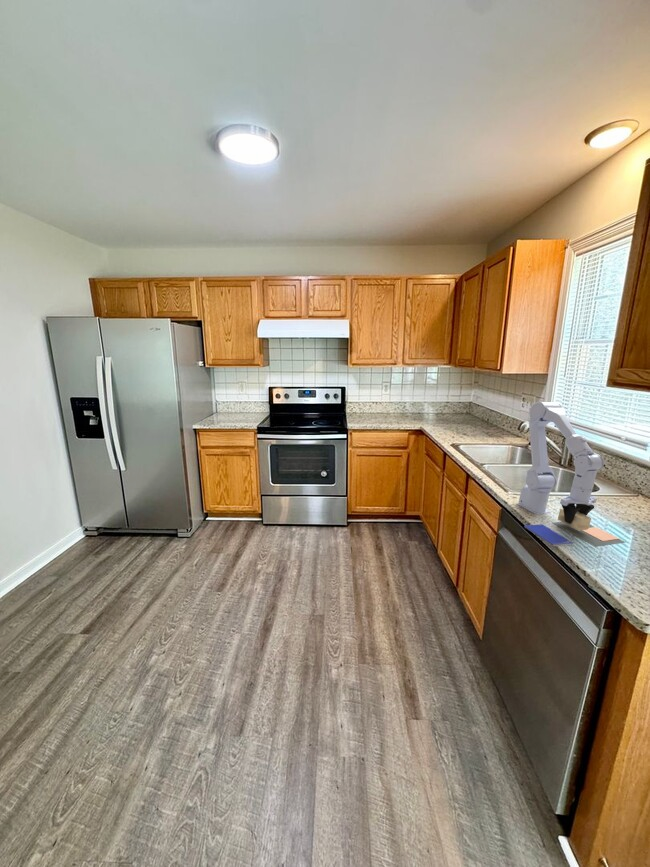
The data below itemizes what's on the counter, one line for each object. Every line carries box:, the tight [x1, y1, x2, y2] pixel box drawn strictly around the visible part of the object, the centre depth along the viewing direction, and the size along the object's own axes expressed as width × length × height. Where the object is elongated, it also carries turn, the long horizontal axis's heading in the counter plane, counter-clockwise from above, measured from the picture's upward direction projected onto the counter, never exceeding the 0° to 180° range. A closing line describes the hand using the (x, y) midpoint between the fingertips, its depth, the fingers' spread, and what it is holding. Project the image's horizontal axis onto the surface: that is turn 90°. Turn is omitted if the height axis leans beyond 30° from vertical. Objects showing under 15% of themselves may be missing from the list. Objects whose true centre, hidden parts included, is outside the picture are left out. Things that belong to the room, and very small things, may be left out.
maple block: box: [557, 507, 592, 531], centre depth 119 cm, size 8×4×4 cm, turn 15°
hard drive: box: [524, 524, 575, 547], centre depth 115 cm, size 2×8×12 cm
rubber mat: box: [552, 521, 626, 547], centre depth 118 cm, size 16×14×1 cm
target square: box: [582, 526, 620, 541], centre depth 117 cm, size 8×8×1 cm
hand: (573, 521), depth 120 cm, fingers closed on maple block, 4 cm apart
